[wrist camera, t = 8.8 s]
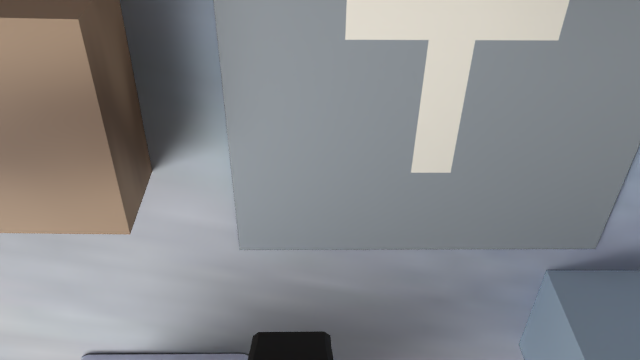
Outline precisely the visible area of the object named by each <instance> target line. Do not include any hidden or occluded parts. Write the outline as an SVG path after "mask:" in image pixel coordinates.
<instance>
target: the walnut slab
mask: <svg viewBox="0 0 640 360" xmlns="http://www.w3.org/2000/svg"><path fill="white" fill-rule="evenodd" d="M151 173H152V168H151V163H150V158H149V153H148V147H147V142H146V137H145V132H144V126H143V121H142V116H141V111H140V105H139V100H138V95H137V90H136V84H135V79H134V74H133V69H132V64H131V58H130V53H129V48H128V43H127V37H126V32H125V27H124V22H123V16H122V11H121V6H120V1H119V0H0V233H52V234H130V233H131V230H132V227H133V224H134V222H135V219H136V216H137V213H138V210H139V207H140V204H141V202H142V199H143V196H144V193H145V190H146V187H147V184H148V182H149V179H150V176H151Z"/></svg>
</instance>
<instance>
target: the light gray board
mask: <svg viewBox="0 0 640 360" xmlns="http://www.w3.org/2000/svg"><path fill="white" fill-rule="evenodd" d="M213 2H214V12H215V21H216V31H217V40H218V49H219V59H220V68H221V78H222V87H223V97H224V106H225V116H226V125H227V135H228V144H229V154H230V163H231V173H232V182H233V192H234V201H235V211H236V220H237V230H238V239H239V249H240V250H368V249H595V248H596V246H597V244H598V241H599V239H600V237H601V234H602V232H603V230H604V227H605V225H606V223H607V220H608V218H609V215H610V213H611V211H612V208H613V206H614V204H615V201H616V199H617V197H618V194H619V192H620V189H621V187H622V185H623V182H624V180H625V178H626V175H627V173H628V171H629V168H630V166H631V163H632V161H633V159H634V156H635V154H636V152H637V149H638V147H639V145H640V0H213Z"/></svg>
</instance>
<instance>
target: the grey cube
mask: <svg viewBox="0 0 640 360" xmlns="http://www.w3.org/2000/svg"><path fill="white" fill-rule="evenodd" d="M519 346H520V349H521V352H522V355H523V358H524V360H640V270H546V273H545V276H544V278H543V281H542V284H541V286H540V289H539V292H538V295H537V297H536V300H535V303H534V305H533V308H532V311H531V313H530V316H529V319H528V322H527V324H526V327H525V330H524V332H523V335H522V338H521V340H520V343H519Z"/></svg>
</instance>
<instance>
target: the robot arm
mask: <svg viewBox="0 0 640 360" xmlns="http://www.w3.org/2000/svg"><path fill="white" fill-rule="evenodd" d="M81 360H333V355H332V349H331V340H330V335H328V334H327V333H326V332H258V333H257V334H256V335H254V336H253V339H252V344H251V349H250V353H249V356H248V355H245V354H97V355H85V356H83V357H82V358H81Z"/></svg>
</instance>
